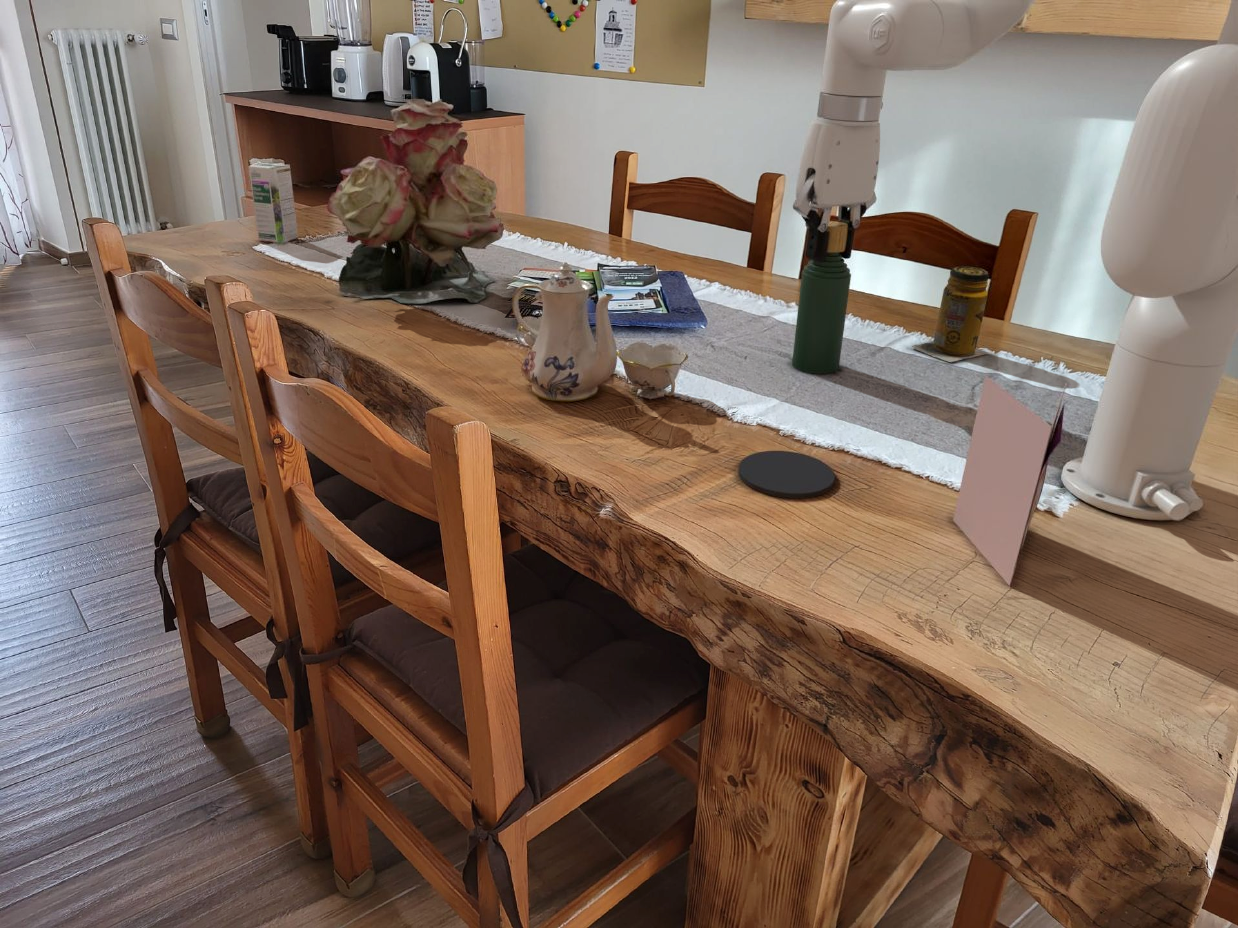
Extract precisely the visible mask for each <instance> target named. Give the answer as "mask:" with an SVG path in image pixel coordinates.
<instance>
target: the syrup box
mask: <svg viewBox="0 0 1238 928" xmlns="http://www.w3.org/2000/svg"><path fill="white" fill-rule="evenodd" d="M290 166H291V165H290V164H282V163H281V164H279V163H270V162H269V163H268V162H259V163H255V164H254V163H253V164H251V165H249V166H248V174H249V182H250V188H251V189H250V190H251V194H252V202H253V203H252V204H253V209H254V215H255V225H256V231H257V239H258V242H268V243H269V242H270V243H277V244H285V243H287V242H290V241H293V240H295V239H299V232H298V223H297V214H296V208H295V197H294V190H293V182H292V180H293V179H292V173H291V167H290Z"/></svg>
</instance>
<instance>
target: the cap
mask: <svg viewBox="0 0 1238 928" xmlns="http://www.w3.org/2000/svg"><path fill="white" fill-rule="evenodd" d="M847 227H848V224H846V223H843V222H838V221H836V220H835V221H834V220H829V222H828V225H827V229H826V230H825V231H828V232H829V242H828V249H827V252H843V251H845V248H846V240H847V231H848V229H847Z"/></svg>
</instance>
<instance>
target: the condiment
mask: <svg viewBox="0 0 1238 928" xmlns="http://www.w3.org/2000/svg"><path fill="white" fill-rule="evenodd" d="M989 278H990V273H989V272H988V271H987V270H986V269H983V268H979V267H973V266H962V265H961V266H955V267H952V268H951V269H950V271H949V277H948V280H947V284H946V286H945V287H944V288H943V292H942V296H941V302H940V307H939V312H938V316H937V321H936V327H935V332H934V337H933V341H932V342H923V343H920V344H914V345H911V346H910V347H911V348H913V349H915V350H917V351H919V352H921V353H923V354H925V355H929V356H931V357H932V358H937V359H940V360H942V361H945V362H949V363H953V362H958V361H963V360H964V359H965V360H966V359H972V358H975V357H980V356H982V355H983V356H984V355H986V354H988V353H989V352H987V351H985V350H981V349H977V347H978V341H979V338H980V332H981V328H982V322H983V318H984V314H985V309H986V305H987V300H988V293H989V292H988V291H987V287H988V281H989Z"/></svg>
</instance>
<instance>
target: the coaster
mask: <svg viewBox="0 0 1238 928" xmlns="http://www.w3.org/2000/svg"><path fill="white" fill-rule="evenodd" d="M737 472H738V473H737V474H738V477H739V478H740V480H741V481H742V482H743V483H744V484H745V485H746V486H747V487H749V488H751V489H752V490H754V491H756V492H759V493H762V494H765V495H768V496H771V497H777V498H781V499H782V498H784V499H796V500H797V499H799V500H800V499H810V498H814V497H818V496H822V495H824V494H826V493H828V492H830V490H831V489H832V488H833V487H834V484H835V479H836V476H835V473H834V471H833V469H832V468H831V467H830V466H829V465H828V464H826V463H825V462H823V461H822V460H820V459H818V458H816V457H814V456H811V455H807V454H805V453H801V452H795V451H788V450H765V451H764V450H763V451H758V452H755V453H752V454H749V455H747V456H745V457H744V458H743V459H742V460H741V461H740V462H739V464H738V470H737Z"/></svg>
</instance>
